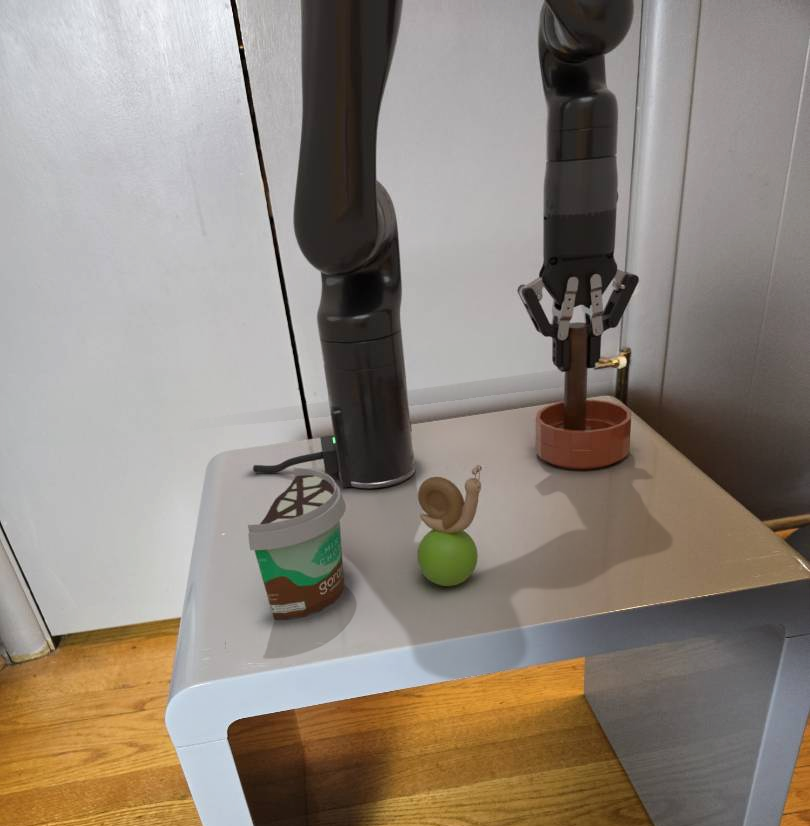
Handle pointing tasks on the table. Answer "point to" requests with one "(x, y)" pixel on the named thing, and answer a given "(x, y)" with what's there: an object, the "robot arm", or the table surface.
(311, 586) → the food container
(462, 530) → the snail figurine
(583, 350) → the muddler
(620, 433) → the bowl
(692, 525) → the table surface
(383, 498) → the table surface
